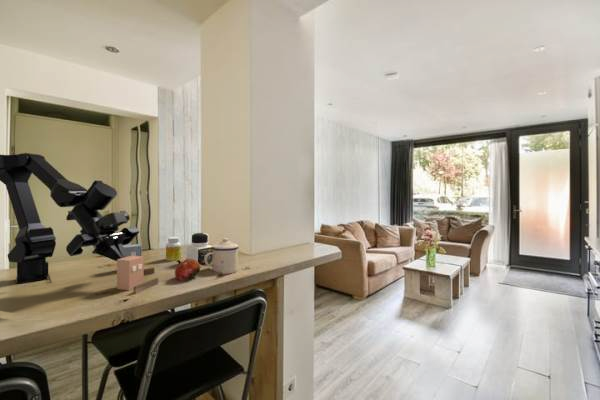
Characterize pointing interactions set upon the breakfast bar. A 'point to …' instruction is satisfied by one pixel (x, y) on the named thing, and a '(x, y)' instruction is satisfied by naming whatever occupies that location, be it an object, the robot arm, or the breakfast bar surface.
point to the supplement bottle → (173, 249)
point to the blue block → (132, 250)
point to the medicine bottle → (199, 249)
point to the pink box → (130, 272)
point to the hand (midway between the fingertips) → (123, 262)
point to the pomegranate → (187, 269)
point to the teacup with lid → (223, 257)
